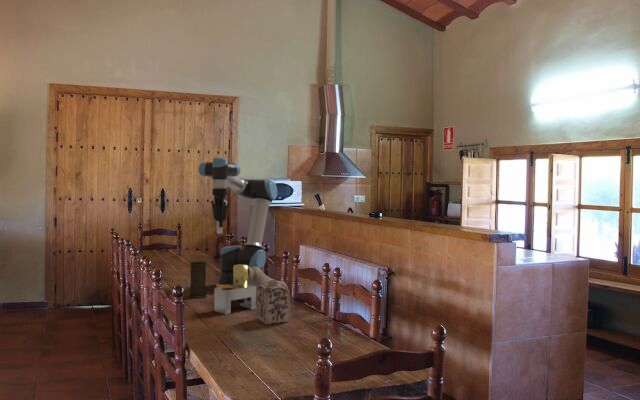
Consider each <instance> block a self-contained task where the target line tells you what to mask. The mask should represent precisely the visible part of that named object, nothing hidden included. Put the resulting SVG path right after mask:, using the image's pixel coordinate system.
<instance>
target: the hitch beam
mask: <svg viewBox="0 0 640 400" xmlns="http://www.w3.org/2000/svg"><path fill="white" fill-rule="evenodd" d="M213 291H214V294H213V295H214V297H213V298H214V300H213V301H214V312H216V313H220V314H223V315H228V314H231V310H232V309H231V308H232V306H231V305H232V304H231V303H232V301H236V300H237V299H243V298H245V303H239V306H240V307H243V308H246V309H248V310H255V309H257V298H256V286H255V285H251V284H248V286H247V287H242V288H238V287H235V288H221V287H217V286H216V287H214V290H213Z"/></svg>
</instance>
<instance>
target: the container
mask: <svg viewBox="0 0 640 400" xmlns="http://www.w3.org/2000/svg"><path fill="white" fill-rule="evenodd" d="M189 266H190V292H189V297H190V298H191V299H204V298H206V297H207V296H208V295H207V288H206V287H207V286H206V279H207V278H206V275H207V274H206V273H207V271H206V267H207V263H206V262H204V261H194V262H190V264H189Z"/></svg>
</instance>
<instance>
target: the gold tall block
mask: <svg viewBox="0 0 640 400" xmlns="http://www.w3.org/2000/svg"><path fill="white" fill-rule="evenodd" d="M233 286H235V287H238V288H242V287H247V286H248V265H243V264H239V265H234V266H233ZM235 302H236V304H240V303H245V298H243V299H237V300H235Z"/></svg>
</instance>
